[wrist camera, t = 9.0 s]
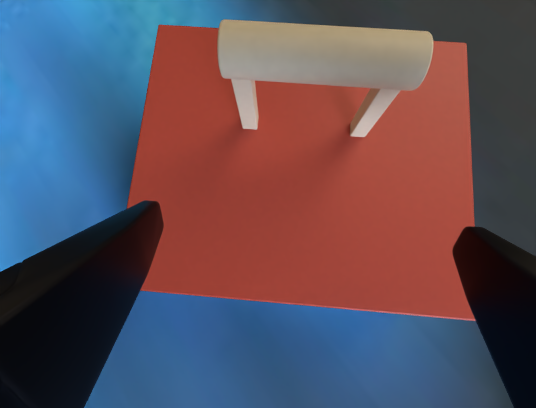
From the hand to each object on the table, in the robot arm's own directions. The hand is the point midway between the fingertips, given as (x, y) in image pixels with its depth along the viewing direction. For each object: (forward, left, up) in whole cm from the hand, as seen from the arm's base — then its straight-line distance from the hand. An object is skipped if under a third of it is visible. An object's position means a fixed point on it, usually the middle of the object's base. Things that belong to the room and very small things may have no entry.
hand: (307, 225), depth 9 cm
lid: (+3, -2, -5) cm, 6 cm away
